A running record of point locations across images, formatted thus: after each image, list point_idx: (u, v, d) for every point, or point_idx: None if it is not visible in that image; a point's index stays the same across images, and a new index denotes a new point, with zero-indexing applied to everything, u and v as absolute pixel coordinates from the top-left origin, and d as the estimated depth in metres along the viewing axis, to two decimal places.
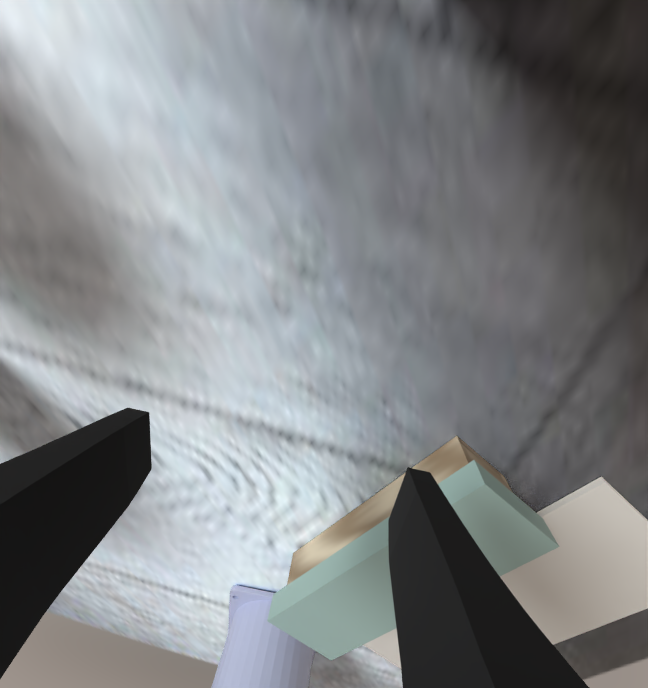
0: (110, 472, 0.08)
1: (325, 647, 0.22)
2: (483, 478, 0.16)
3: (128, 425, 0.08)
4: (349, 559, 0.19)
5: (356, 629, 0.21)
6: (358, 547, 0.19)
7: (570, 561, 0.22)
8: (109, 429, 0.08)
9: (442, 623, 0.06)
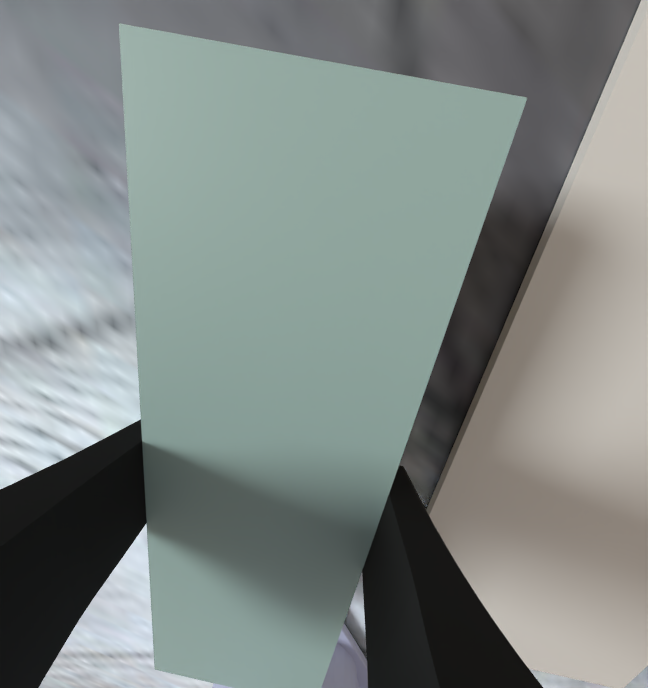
0: (139, 478, 0.08)
1: (280, 685, 0.11)
2: (141, 37, 0.05)
3: None
4: None
5: (289, 631, 0.10)
6: None
7: None
8: (139, 435, 0.08)
9: (400, 614, 0.06)
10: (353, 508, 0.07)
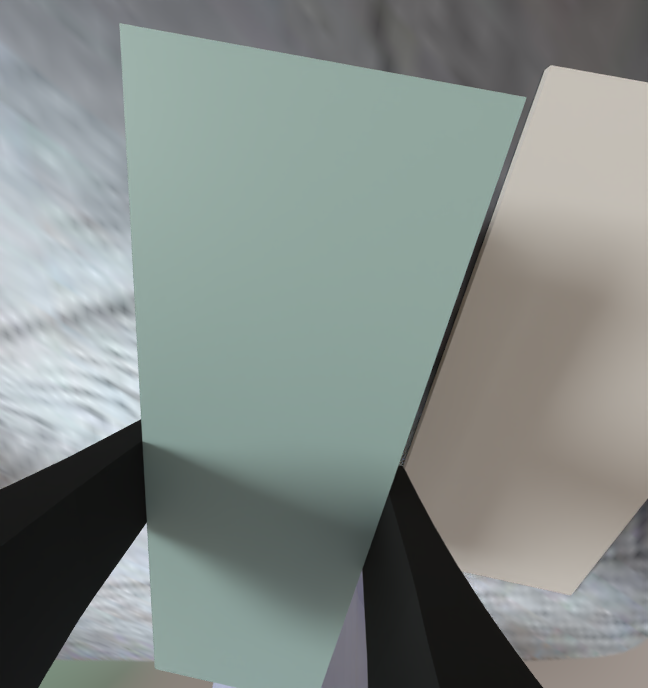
0: (139, 478, 0.08)
1: (280, 684, 0.11)
2: (142, 38, 0.05)
3: None
4: None
5: (289, 630, 0.10)
6: None
7: (608, 262, 0.13)
8: (139, 435, 0.08)
9: (400, 614, 0.06)
10: (352, 507, 0.07)
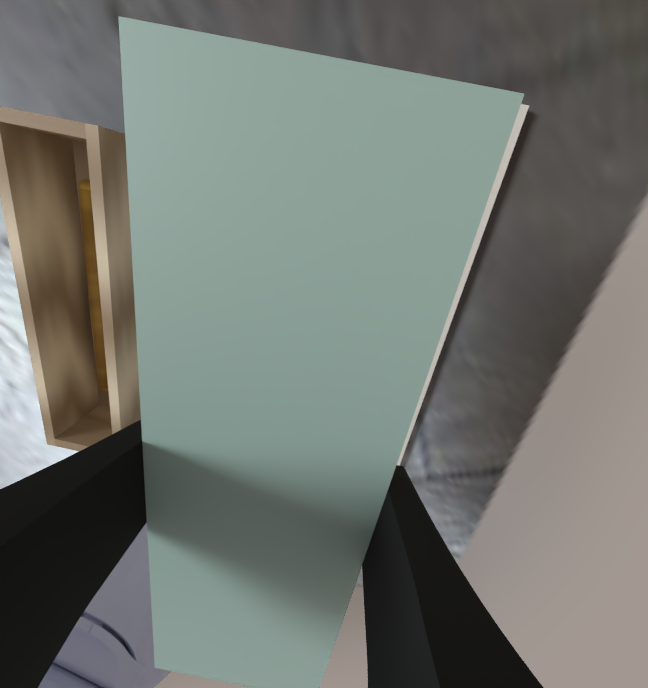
0: (139, 478, 0.08)
1: (281, 680, 0.11)
2: (141, 31, 0.05)
3: None
4: None
5: (290, 625, 0.10)
6: None
7: None
8: (138, 435, 0.08)
9: (400, 614, 0.06)
10: (354, 501, 0.08)
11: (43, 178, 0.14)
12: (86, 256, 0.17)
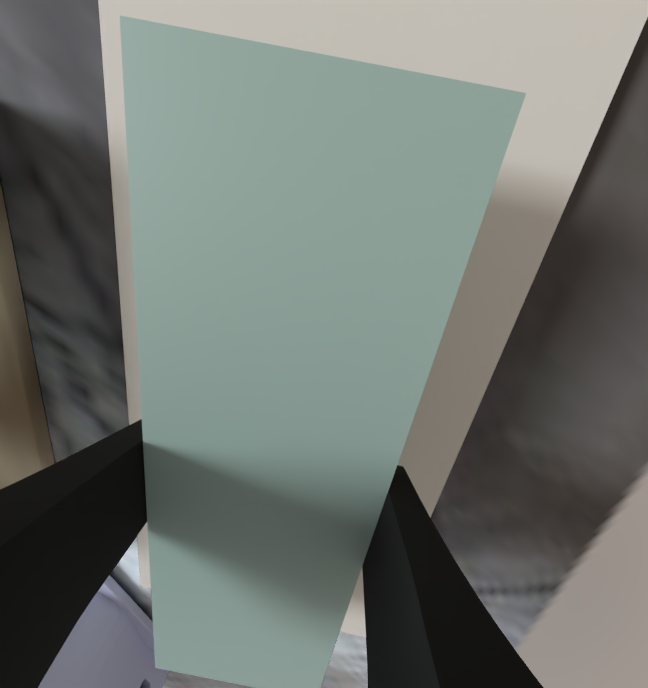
0: (139, 478, 0.08)
1: (281, 680, 0.11)
2: (142, 30, 0.05)
3: None
4: None
5: (291, 625, 0.10)
6: None
7: None
8: (138, 435, 0.08)
9: (400, 614, 0.06)
10: (354, 501, 0.08)
11: None
12: None
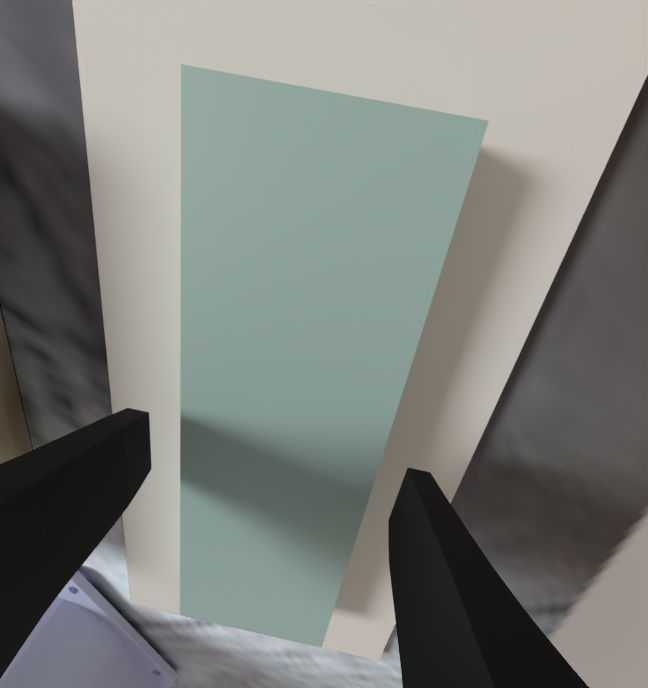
0: (110, 472, 0.08)
1: (291, 627, 0.12)
2: (194, 73, 0.06)
3: (128, 425, 0.08)
4: None
5: (301, 573, 0.11)
6: None
7: None
8: (109, 429, 0.08)
9: (442, 623, 0.06)
10: (356, 456, 0.09)
11: None
12: None
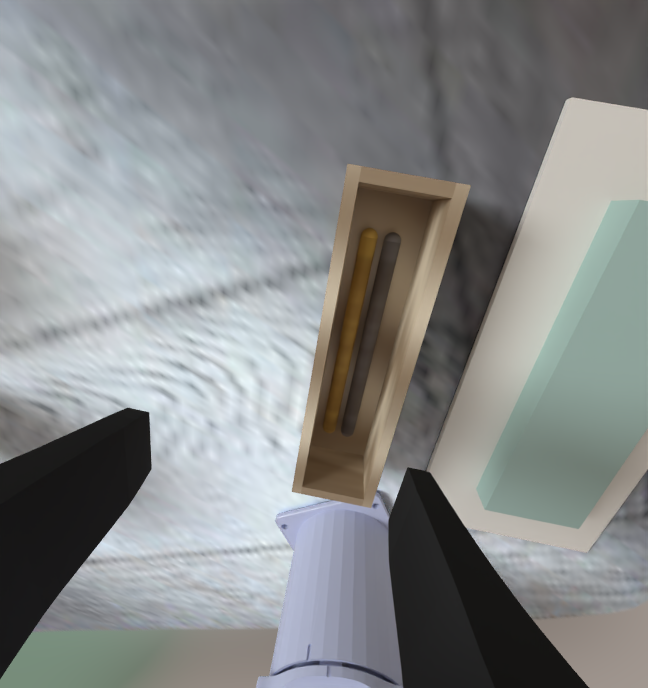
0: (110, 472, 0.08)
1: (563, 514, 0.19)
2: (634, 200, 0.13)
3: (128, 425, 0.08)
4: (534, 394, 0.17)
5: (587, 473, 0.18)
6: (536, 377, 0.17)
7: None
8: (109, 429, 0.08)
9: (442, 623, 0.06)
10: None
11: None
12: (352, 303, 0.16)
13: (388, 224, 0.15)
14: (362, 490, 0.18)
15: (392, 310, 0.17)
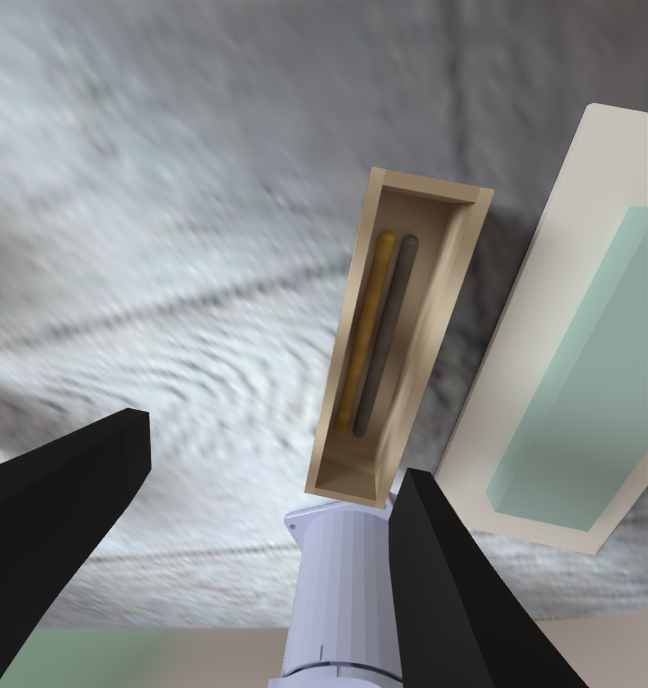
0: (110, 472, 0.08)
1: (573, 517, 0.19)
2: None
3: (128, 425, 0.08)
4: (547, 397, 0.17)
5: (598, 477, 0.18)
6: (550, 380, 0.17)
7: None
8: (109, 429, 0.08)
9: (442, 623, 0.06)
10: None
11: None
12: (368, 305, 0.16)
13: (406, 226, 0.15)
14: (374, 491, 0.18)
15: (407, 313, 0.17)
